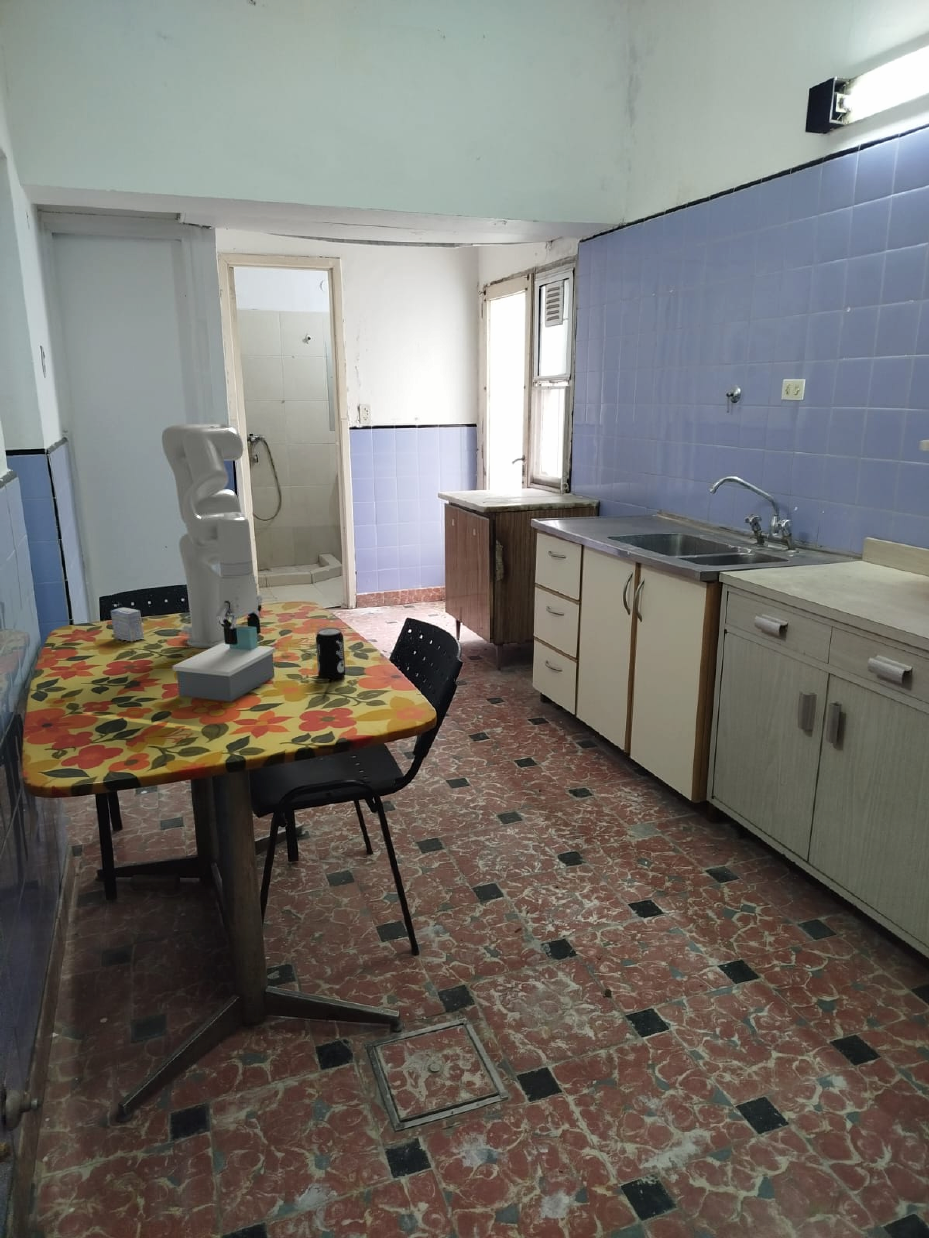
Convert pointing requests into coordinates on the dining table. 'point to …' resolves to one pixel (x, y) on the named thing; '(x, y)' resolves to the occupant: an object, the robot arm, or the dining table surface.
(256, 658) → the lid
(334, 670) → the beverage can
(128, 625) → the white upright block
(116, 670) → the dining table surface
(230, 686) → the tub
